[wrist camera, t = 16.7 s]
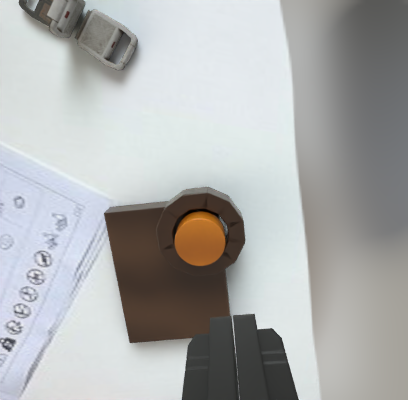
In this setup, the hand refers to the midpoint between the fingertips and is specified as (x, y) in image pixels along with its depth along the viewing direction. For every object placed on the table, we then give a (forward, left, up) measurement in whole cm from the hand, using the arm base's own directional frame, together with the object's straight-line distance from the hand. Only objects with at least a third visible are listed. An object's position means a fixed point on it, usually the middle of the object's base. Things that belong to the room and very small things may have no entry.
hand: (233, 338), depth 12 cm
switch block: (+5, -4, -18) cm, 19 cm away
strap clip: (-14, -9, -18) cm, 25 cm away
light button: (+2, -2, -15) cm, 15 cm away
